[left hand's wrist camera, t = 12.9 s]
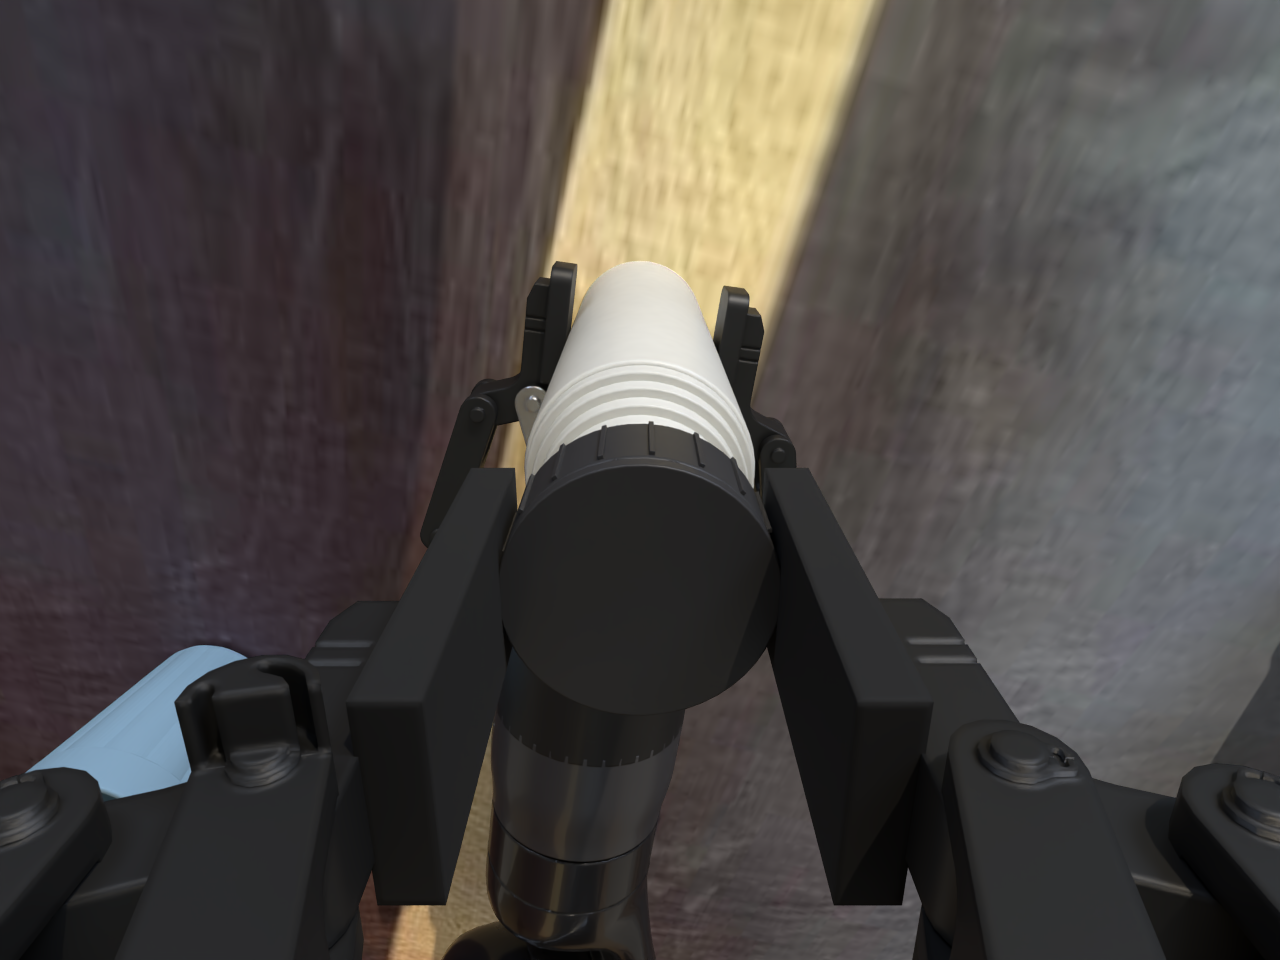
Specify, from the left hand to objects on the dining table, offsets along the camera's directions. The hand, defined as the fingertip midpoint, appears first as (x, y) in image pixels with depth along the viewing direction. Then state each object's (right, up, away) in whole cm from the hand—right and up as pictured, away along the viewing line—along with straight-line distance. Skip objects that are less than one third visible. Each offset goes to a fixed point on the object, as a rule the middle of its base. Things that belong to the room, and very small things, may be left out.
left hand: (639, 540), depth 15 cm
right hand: (0, +8, +12) cm, 14 cm away
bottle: (0, +7, +19) cm, 20 cm away
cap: (0, -1, -2) cm, 2 cm away
